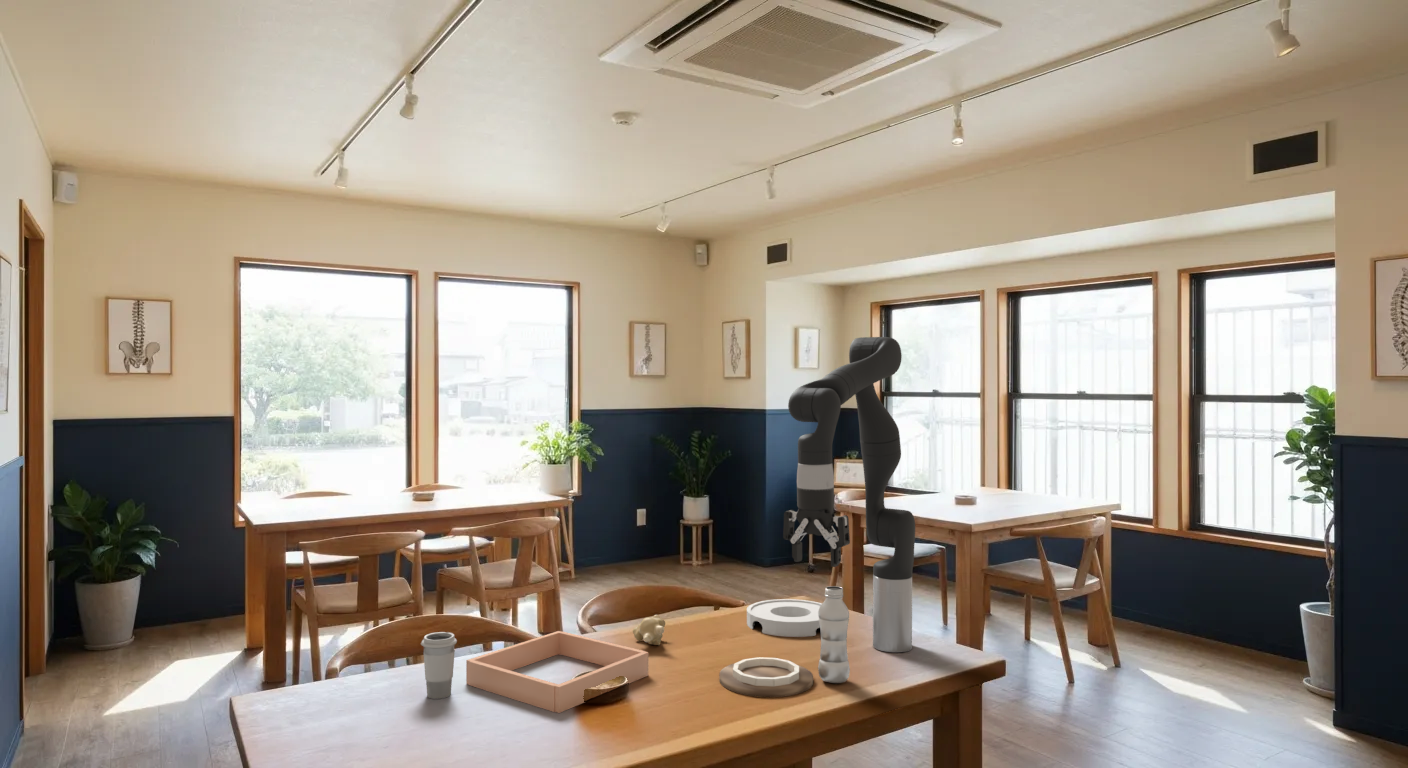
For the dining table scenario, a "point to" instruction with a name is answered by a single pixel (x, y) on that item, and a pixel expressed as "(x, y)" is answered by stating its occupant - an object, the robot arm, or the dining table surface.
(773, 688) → the round tan coaster
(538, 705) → the peach open square frame
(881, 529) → the robot arm
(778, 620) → the white round disc base
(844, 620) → the plastic bottle
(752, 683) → the ring
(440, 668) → the cup
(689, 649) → the dining table surface
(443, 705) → the dining table surface
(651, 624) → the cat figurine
